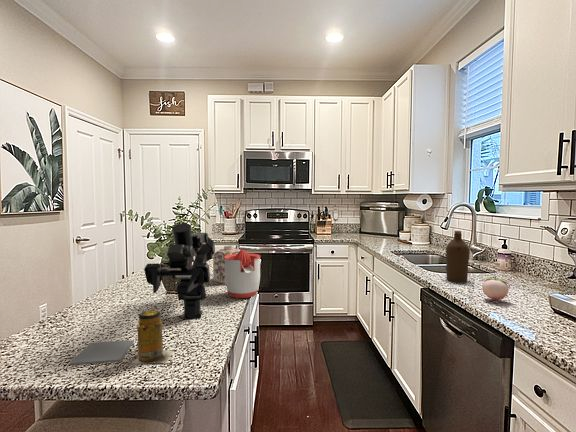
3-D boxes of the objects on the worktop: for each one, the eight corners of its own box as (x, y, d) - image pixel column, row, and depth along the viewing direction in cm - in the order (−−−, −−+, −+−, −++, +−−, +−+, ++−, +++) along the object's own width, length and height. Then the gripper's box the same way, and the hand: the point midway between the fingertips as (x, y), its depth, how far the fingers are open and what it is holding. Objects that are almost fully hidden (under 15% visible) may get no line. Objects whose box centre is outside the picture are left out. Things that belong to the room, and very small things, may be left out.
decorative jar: (212, 281, 170) (212, 245, 169) (230, 277, 179) (230, 243, 178) (228, 285, 162) (227, 248, 162) (246, 280, 171) (245, 245, 170)
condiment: (143, 351, 93) (142, 308, 92) (174, 351, 93) (173, 308, 92) (131, 364, 86) (130, 317, 85) (164, 364, 85) (163, 317, 85)
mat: (90, 344, 97) (90, 342, 97) (134, 341, 99) (134, 340, 99) (69, 364, 85) (69, 363, 85) (120, 361, 87) (120, 359, 87)
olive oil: (473, 282, 167) (474, 231, 165) (454, 283, 165) (455, 232, 164) (459, 277, 177) (460, 229, 176) (440, 278, 175) (441, 230, 174)
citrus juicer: (230, 303, 134) (230, 253, 133) (220, 292, 150) (220, 247, 149) (267, 298, 141) (267, 251, 139) (254, 288, 156) (254, 245, 155)
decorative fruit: (482, 302, 135) (482, 277, 134) (481, 296, 142) (481, 273, 142) (510, 305, 131) (510, 280, 130) (507, 299, 138) (508, 275, 137)
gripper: (149, 238, 105) (131, 268, 91) (210, 237, 106) (201, 268, 92) (155, 267, 110) (139, 300, 96) (213, 266, 111) (205, 299, 97)
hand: (170, 291), depth 95 cm, fingers open, 9 cm apart
